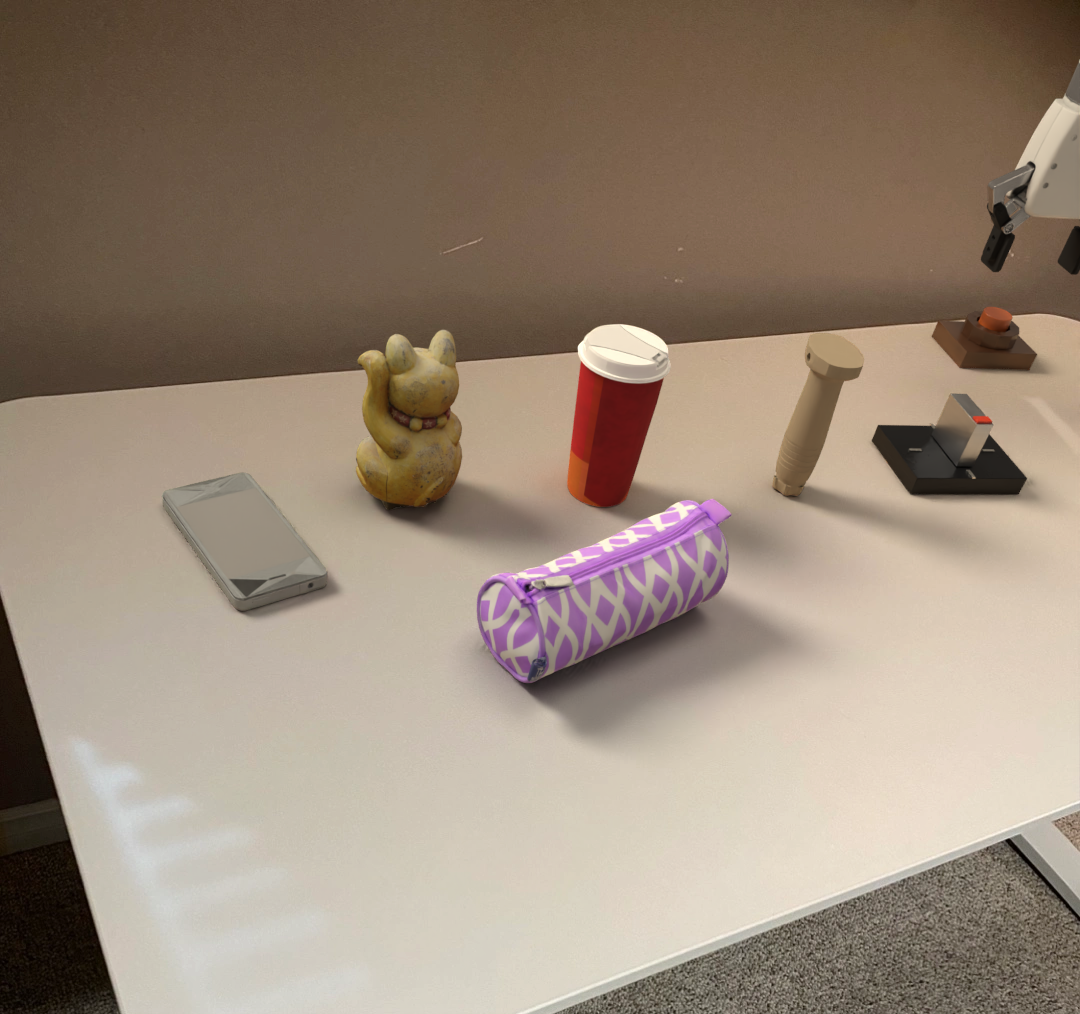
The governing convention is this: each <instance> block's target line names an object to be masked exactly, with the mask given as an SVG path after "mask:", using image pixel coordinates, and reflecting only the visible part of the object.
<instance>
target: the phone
mask: <svg viewBox="0 0 1080 1014" xmlns="http://www.w3.org/2000/svg"><path fill="white" fill-rule="evenodd" d="M161 500H162V501H161V502H162V506H163V508H164V510H165V511H166V513H167V514H168V516H169V517H170V518H171V520H172V521H173V523H174V524H175V525H176V527H177V529H178V531H180V532H181V534H182V536H183V538H184V539H186V541H187V542H188V544H189V545H190V547H191V548H192V550H193V552H194V553H195V554H196V555H197V557H198V558H199V560H200V561H201V562H202V564H203V565H204V567H205V568H206V569H207V571H208V572H209V574H210V575H211V577H212V578H213V579H214V581H215V582H216V584H217V585H218V586H219V588H220V590H221V591H222V592H223V593H224V595H225V596H226V598H227V599H228V601H229V602H230V604H231V605H232V606H233V607H234V609H236V610H237V611H241V612H244V611H245V612H246V611H248V610H252V609H255V608H259V607H262V606H266V605H269V604H273V603H276V602H280V601H283V600H286V599H289V598H293V597H296V596H300V595H303V594H306V593H309V592H313V591H316V590H319V589H323V588H324V587H326V586H327V583H328V570H327V568H326V567H325V565H324V564H323V563H322V561H321V560H320V559H319V557H317V555H316V554H315V553H314V551H313V550H312V549H311V548H310V547H309V545H308V544H307V543H306V541H305V540H304V539H303V538H302V537H301V535H300V534H299V533H298V532H297V530H296V529H295V528H294V527H293V526H292V524H291V523H290V522H289V520H288V519H287V517H285V516H284V514H283V513H282V512H281V510H280V509H279V508H278V507H277V505H276V504H275V502H273V500H272V499H271V498H270V497H269V496H268V494H267V493H266V492H265V491H264V489H263V488H262V487H261V486H260V484H259V483H258V481H256V480H255V478H254V477H253V476H252V474H250V473H248V472H243V471H242V472H237V473H232V474H229V475H223V476H220V477H216V478H210V479H207V480H203V481H198V482H195V483H190V484H186V485H182V486H177V487H173V488H169V489H165V490H164V491H163V492H162V494H161Z"/></svg>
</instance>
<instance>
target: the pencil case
mask: <svg viewBox="0 0 1080 1014" xmlns="http://www.w3.org/2000/svg"><path fill="white" fill-rule="evenodd" d="M732 516H733V513H732V512H730V510H728V509H727V508H726V507H725V506H724V505H723V504H721V503H720V502H718V501H717V500H716V499H715V498H710V499H706V500H705V501H703V502H702V503H701V504H700V503H698V502H697V501H695V500H692V499H685V500H681V501H677V502H676V503H673V504H672V505H670V506H669V507H667V509H665V511H662V512H660V513H659V512H658V513H656V514H653V515H651V516H648V517H646V518H643V519H642V520H639V521H637V522H636V523H635V524H632V525H630V526H629V527H627V528H625V529H624V530H622V531H620V532H617V533H615V534H613V535H610V536H608V537H607V538H604V539H602V540H600V541H598V542H596V543H594V544H592V545H588V546H585V547H581V548H579V549H576V550H573V551H570V552H569V553H565V554H563V555H561V556H559V557H557V558H555V559H553V560H551V561H549V562H547V563H543V564H541V565H539V566H536V567H529V568H526V569H524V570H521V571H517V572H514V573H513V572H501V573H495V574H493V575H491V576H489V577H488V578H487V579H486V580H485V581H484V582H483V584H482V586H481V587H480V589H479V590H478V594H477V599H476V619H477V625H478V629H479V632H480V636H481V637H482V639H483V642H484V644H485V646H487V648H488V650H489V651H490V653H491V655H492V656H493V658H494V659H495V661H497V663H499V665H501V666H502V667H503V668H504V669H505V670H507V672H509V674H510V675H512V677H514V678H515V679H516V680H517V681H519V682H520V683H523V684H524V683H525V684H532V683H535V682H537V681H539V680H541V679H543V678H545V677H547V676H549V675H552V674H553V673H555V672H558V671H560V670H564V669H566V668H568V667H570V666H573V665H576V664H578V663H580V662H582V661H585V660H586V659H589V658H590V657H593V656H595V655H598V654H599V653H602V652H605V651H607V650H608V649H611V648H613V647H615V646H617V645H620V644H622V643H624V642H626V641H629V640H631V639H633V638H636V637H637V636H640V635H642V634H644V633H647V632H649V631H650V630H652V629H654V628H656V627H658V626H660V625H662V624H665V623H668V622H669V621H671V620H675V619H676V618H678V617H680V616H681V615H683V614H685V613H687V612H688V611H690V610H691V611H692V609H694V608H696V607H698V606H700V604H701V603H704V602H707V601H710V600H711V599H713V598H715V597H716V596H717V595H718V594H719V592H720V591H721V589H722V588H723V586H724V585H725V582H726V580H727V578H728V573H729V572H728V571H729V564H730V562H729V559H730V558H729V557H730V556H729V549H728V544H727V540H726V537H725V535H724V533H723V531H722V530H721V527H720V526H719V525H720V524H722V523H724V522H725V521H726V520H729V518H730V517H731V518H732Z"/></svg>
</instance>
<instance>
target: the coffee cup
mask: <svg viewBox="0 0 1080 1014" xmlns="http://www.w3.org/2000/svg"><path fill="white" fill-rule="evenodd" d="M583 337H584V338H583V340H582V341H581V342H580V343H579V344H578V346H577V353H578V354H577V355H578V358H579V360H580V363H579V364H580V365H579V373H578V374H579V375H578V382H577V383H578V384H577V390H576V397H575V398H576V399H575V407H574V415H573V424H572V433H571V442H570V449H569V450H570V451H569V459H568V470H567V483H566V484H567V490H568V492H569V494H571V496H573V498H575V499H576V500H578V501H579V502H581V503H584V504H585V505H589V506H593V507H599V508H611V507H616V506H618V505H621V504H622V503H623V502H624V501H626V499H627V497H628V495H629V492H630V490H631V486H632V483H633V481H634V477H635V474H636V471H637V468H638V464H639V461H640V458H641V455H642V451H643V448H644V445H645V443H646V438H647V435H648V432H649V429H650V426H651V423H652V419H653V418H654V417H653V416H654V414H655V412H656V411H655V410H656V407H657V404H658V400H659V397H660V394H661V390H662V387H663V383H664V380H665V378H666V377H667V376H668V375H669V374H670V372H671V369H672V364H671V360H670V358H669V357H670V355H669V354H670V353H669V348H668V345H667V344H666V343H665V341H664V340H663V339H662V338H661V337H659V336H658V335H656V334H655V333H653V332H651V331H649V330H647V329H644V328H641V327H638V326H634V325H629V324H623V323H615V324H603V325H600V326H597V327H595V328H593V329H592V330H591V331H590V332H588V333H587V334H586V335H584V336H583Z"/></svg>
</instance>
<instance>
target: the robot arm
mask: <svg viewBox="0 0 1080 1014" xmlns="http://www.w3.org/2000/svg"><path fill="white" fill-rule="evenodd" d="M1069 81H1070V82H1069V83H1068V86H1067V88H1066V90H1065V93H1064V95H1063V97H1062V98H1055V99H1054V100H1053V101H1052V103H1051V105H1050V106H1049V108H1048V109H1047V110H1046V112H1045V113H1044V115H1043V116H1042V117H1041V120H1040V122H1039V123H1038V124H1037V127H1036V128H1035V129H1034V132H1033V134H1032V135H1031V138H1030V139H1029V141H1028V143H1027V144H1026V147H1025V149H1024V150H1023V152H1022V155H1021V157H1020V159H1019V160H1018V163H1017V164H1016V167H1015V168H1014V170H1012V171H1010V172H1008V173H1005V174H1003V175H1001V176H999V177H997V178H994V179H991V180H990V181H989V182H988V183H987V187H986V189H987V191H986V192H987V204H986V209H987V211H988V214H989V216H990V222H991V223H992V224H993V226H992V228H991V231H990V233H989V235H988V238H987V240H986V243H985V245H984V248H983V251H982V254H981V256H980V262H981V263H982V264H983V265H984V266H986V268H988V269H989V270H990V271H991V272H992V273H999V272H1001V270H1002V269H1003V266H1004V265H1005V262H1006V260H1007V257H1008V255H1009V253H1010V250H1011V248H1012V246H1013V243H1014V242H1015V239H1016V235H1015V234H1014V233H1013V231H1015V230H1016V229H1017V228H1018V227H1020V226H1021V225H1022V224H1023V223H1024V222H1026V221H1027V220H1028V219H1029V218H1030V217H1034V218H1046V219H1047V218H1048V219H1067V220H1079V222H1080V60H1078V63H1077V64H1076V67H1075V69H1074V72H1073V74H1072V76H1071V79H1070V80H1069ZM1006 198H1007V199H1008V201H1006V203H1005V200H1006ZM1014 212H1015V213H1014ZM1059 254H1060V255H1059V256H1058V259H1057V264H1058V265H1059V266H1060V267H1062V269H1064V270H1065V271H1066V272H1068V273H1069V274H1070V275H1072V276H1074V275H1075V276H1077V275H1078V274H1079V273H1080V225H1074V227H1073V228H1072V229H1071V231H1070V233H1069V235H1068V237H1067V240H1066V241H1065V244H1064V246H1063V248H1062V250H1061V252H1060V253H1059Z"/></svg>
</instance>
